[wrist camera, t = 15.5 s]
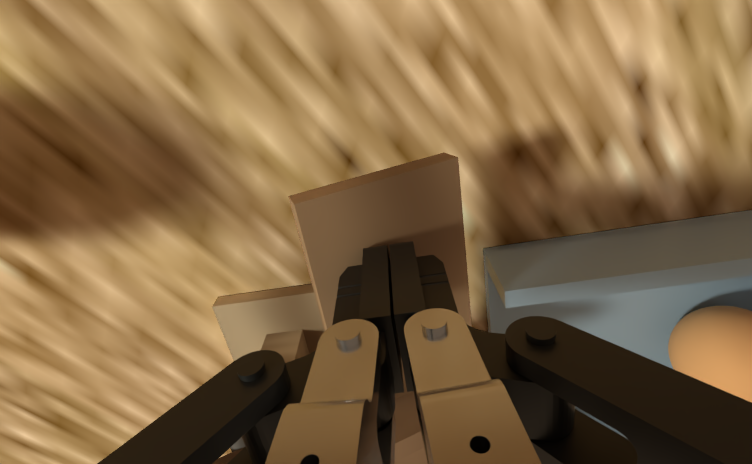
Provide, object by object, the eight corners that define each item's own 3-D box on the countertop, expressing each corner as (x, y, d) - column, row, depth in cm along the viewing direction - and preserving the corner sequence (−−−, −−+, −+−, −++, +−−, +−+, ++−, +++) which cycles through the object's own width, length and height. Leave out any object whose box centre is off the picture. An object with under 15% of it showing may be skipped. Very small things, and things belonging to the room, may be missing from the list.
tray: (483, 248, 19) (504, 291, 16) (792, 204, 18) (882, 240, 15) (493, 418, 24) (512, 478, 21) (740, 390, 23) (800, 448, 20)
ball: (758, 283, 19) (655, 290, 20) (848, 347, 15) (717, 354, 16) (737, 357, 21) (644, 361, 22) (812, 431, 17) (696, 435, 18)
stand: (272, 437, 25) (242, 552, 19) (217, 297, 20) (159, 393, 15) (372, 425, 24) (370, 540, 19) (337, 280, 20) (323, 373, 15)
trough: (100, 647, 16) (77, 785, 13) (-205, 317, 9) (-400, 439, 6) (469, 453, 21) (517, 521, 18) (438, 142, 14) (506, 163, 11)
